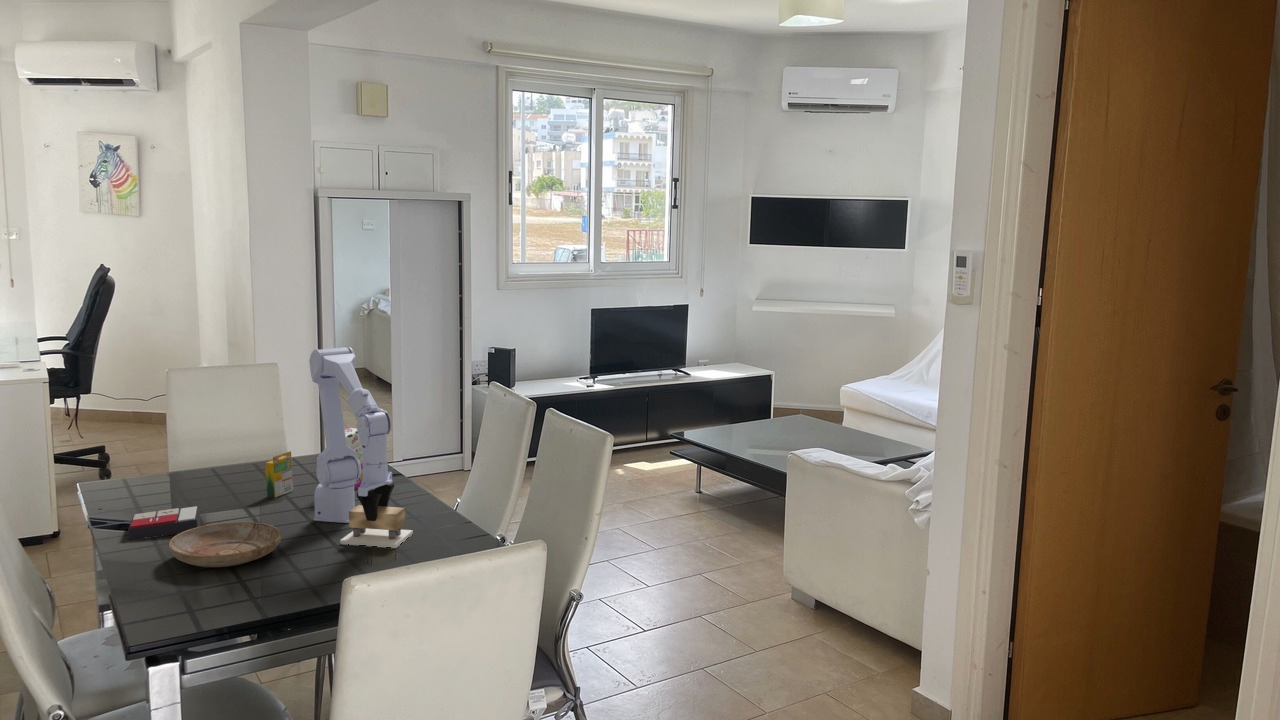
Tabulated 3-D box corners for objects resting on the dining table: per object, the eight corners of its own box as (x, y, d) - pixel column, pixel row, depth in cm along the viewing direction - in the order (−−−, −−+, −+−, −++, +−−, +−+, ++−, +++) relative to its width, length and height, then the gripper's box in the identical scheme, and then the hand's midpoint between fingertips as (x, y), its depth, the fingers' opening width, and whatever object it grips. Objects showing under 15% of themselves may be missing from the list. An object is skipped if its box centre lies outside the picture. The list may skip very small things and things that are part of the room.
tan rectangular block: (349, 527, 226) (348, 511, 225) (358, 520, 230) (358, 504, 230) (396, 530, 224) (396, 514, 223) (405, 523, 229) (404, 507, 228)
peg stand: (340, 544, 224) (339, 532, 223) (359, 530, 234) (359, 518, 233) (396, 548, 222) (395, 536, 221) (412, 534, 231) (412, 522, 231)
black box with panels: (132, 512, 234) (198, 503, 240) (134, 529, 235) (200, 519, 240) (127, 526, 224) (196, 516, 230) (129, 543, 225) (198, 533, 230)
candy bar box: (350, 482, 275) (348, 427, 272) (366, 483, 274) (364, 428, 271) (330, 493, 264) (328, 436, 261) (347, 494, 263) (345, 437, 260)
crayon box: (285, 489, 266) (283, 449, 265) (293, 491, 265) (292, 451, 264) (266, 496, 260) (264, 455, 258) (275, 498, 259) (273, 457, 257)
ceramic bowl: (212, 585, 199) (211, 563, 198) (148, 562, 211) (146, 541, 210) (303, 553, 218) (302, 532, 217) (239, 534, 230) (238, 514, 230)
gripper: (377, 470, 217) (379, 527, 219) (403, 455, 231) (404, 508, 233) (348, 469, 218) (350, 525, 220) (376, 453, 232) (377, 506, 234)
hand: (376, 516), depth 227 cm, fingers closed on tan rectangular block, 5 cm apart
